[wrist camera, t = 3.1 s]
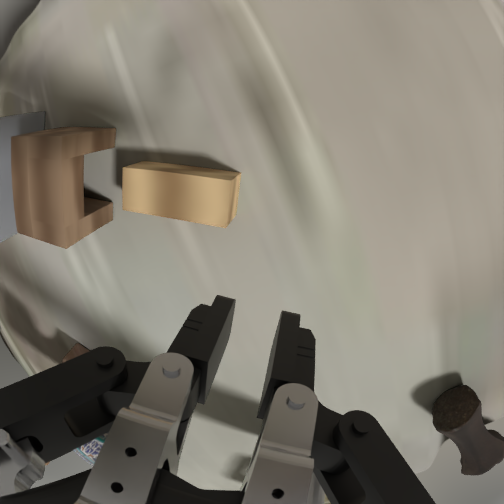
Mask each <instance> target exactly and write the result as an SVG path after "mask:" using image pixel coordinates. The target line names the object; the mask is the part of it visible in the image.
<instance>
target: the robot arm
mask: <svg viewBox="0 0 504 504" xmlns="http://www.w3.org/2000/svg"><path fill="white" fill-rule="evenodd" d="M235 301H236V300H235V299H232V298H228V297H224V296H220V295H217V296H216V298H215V300H214V302H213V304H212V306H208V305H204V304H200V305H199V306H197V307H196V308H194V309H193V310H192V311H191V312H190V314H189V316H188V317H187V320H186V321H185V322H184V324H183V327H181V329H180V331H179V332H178V334H177V336H176V338H175V339H174V341H173V343H172V344H171V346H170V348H169V349H168V351H167V353H163V354H160V355H158V356H156V357H155V358H154V359H153V360H152V362H133V361H126V360H125V357H124V355H123V353H122V352H121V351H119V350H118V349H116V348H113V347H98V348H96V349H93V350H91V351H89V352H86V353H84V354H82V355H80V356H77V357H75V358H73V359H70V360H68V361H66V362H63V363H61V364H59V365H56V366H54V367H52V368H49V369H47V370H45V371H42V372H40V373H38V374H35V375H33V376H30V377H28V378H26V379H23V380H21V381H19V382H16V383H14V384H11V385H9V386H7V387H4V388H2V389H0V504H324V500H325V494H326V496H327V498H328V500H329V501H330V503H331V504H435V502H434V501H433V499H432V498H431V496H430V495H429V493H428V492H427V491H426V489H425V488H424V486H423V485H422V484H421V482H420V481H419V480H418V478H417V477H416V475H415V474H414V472H413V471H412V469H411V468H410V467H409V465H408V464H407V462H406V461H405V460H404V458H403V457H402V455H401V454H400V452H399V451H398V450H397V448H396V447H395V445H394V444H393V443H392V441H391V440H390V438H389V437H388V436H387V434H386V433H385V431H384V430H383V429H382V427H381V426H380V424H379V423H378V421H377V420H376V419H375V418H374V417H373V416H372V415H370V414H369V413H367V412H364V411H359V410H354V411H350V412H347V413H346V414H344V415H341V414H339V413H336V412H334V411H332V410H330V409H328V408H326V407H325V406H323V405H322V404H321V403H320V402H319V401H318V399H317V396H316V395H315V393H314V375H315V338H314V336H313V334H312V332H311V330H309V329H304V328H300V327H299V326H300V314H296V313H291V312H287V311H282V312H281V316H280V319H279V323H278V326H277V330H276V334H275V337H274V341H273V345H272V349H271V353H270V358H269V363H268V368H267V373H266V378H265V383H264V387H263V392H262V397H261V401H260V406H259V411H258V415H257V418H260V419H263V423H262V428H261V431H260V433H259V436H258V439H257V442H256V445H255V448H254V452H253V455H252V458H251V461H250V464H249V467H248V470H247V473H246V475H245V478H244V481H243V483H242V486H241V488H240V491H225V490H203V489H199V488H197V487H195V486H193V485H191V484H190V483H188V482H186V481H184V480H183V479H181V478H179V477H177V472H178V465H179V459H180V455H181V452H182V449H183V445H184V442H185V438H186V435H187V432H188V428H189V425H190V421H191V418H192V413H193V411H194V409H195V406H196V404H197V402H198V403H201V404H205V401H206V399H207V396H208V393H209V391H210V388H211V385H212V383H213V380H214V378H215V375H216V372H217V370H218V367H219V364H220V362H221V359H222V356H223V354H224V351H225V348H226V346H227V343H228V340H229V336H230V332H231V327H232V321H233V314H234V308H235ZM107 432H109V433H108V435H107V437H106V439H105V441H104V443H103V446H102V448H101V450H100V452H99V454H98V456H97V459H96V461H95V463H94V465H93V468H92V469H89V470H86V471H84V472H81V473H78V474H76V475H73V476H70V477H67V478H64V479H61V480H58V481H55V482H52V483H49V484H46V485H43V486H39V487H36V488H32V489H30V488H31V486H32V484H33V483H34V482H35V481H37V480H40V479H42V478H43V475H44V471H45V463H48V462H50V461H52V460H54V459H56V458H58V457H60V456H62V455H64V454H66V453H68V452H71V451H73V450H75V449H77V448H79V447H81V446H82V445H84V444H86V443H88V442H90V441H92V440H94V439H96V438H98V437H100V436H102V435H104V434H105V433H107Z"/></svg>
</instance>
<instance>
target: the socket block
mask: <svg viewBox="0 0 504 504" xmlns="http://www.w3.org/2000/svg"><path fill="white" fill-rule="evenodd" d="M115 135H116V128H95V127H61V128H54V129H48V130H42V131H37V132H31V133H26V134H21V135H17V136H12V137H11V173H12V190H13V201H14V211H15V220H16V227H17V232H18V233H21V234H23V235H26V236H29V237H32V238H35V239H38V240H41V241H44V242H47V243H50V244H53V245H56V246H59V247H62V248H65V249H67V248H68V247H70V246H72V245H73V244H75V243H76V242H78V241H79V240H81V239H82V238H84V237H86V236H87V235H89V234H90V233H92V232H94V231H95V230H97V229H98V228H100V227H102V226H103V225H105V224H107V223H108V222H110V221H112V220H113V202H108V201H102V200H97V199H92V198H87V197H84V189H83V170H84V154H88V153H92V152H96V151H101V150H105V149H109V148H114V147H115Z"/></svg>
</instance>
